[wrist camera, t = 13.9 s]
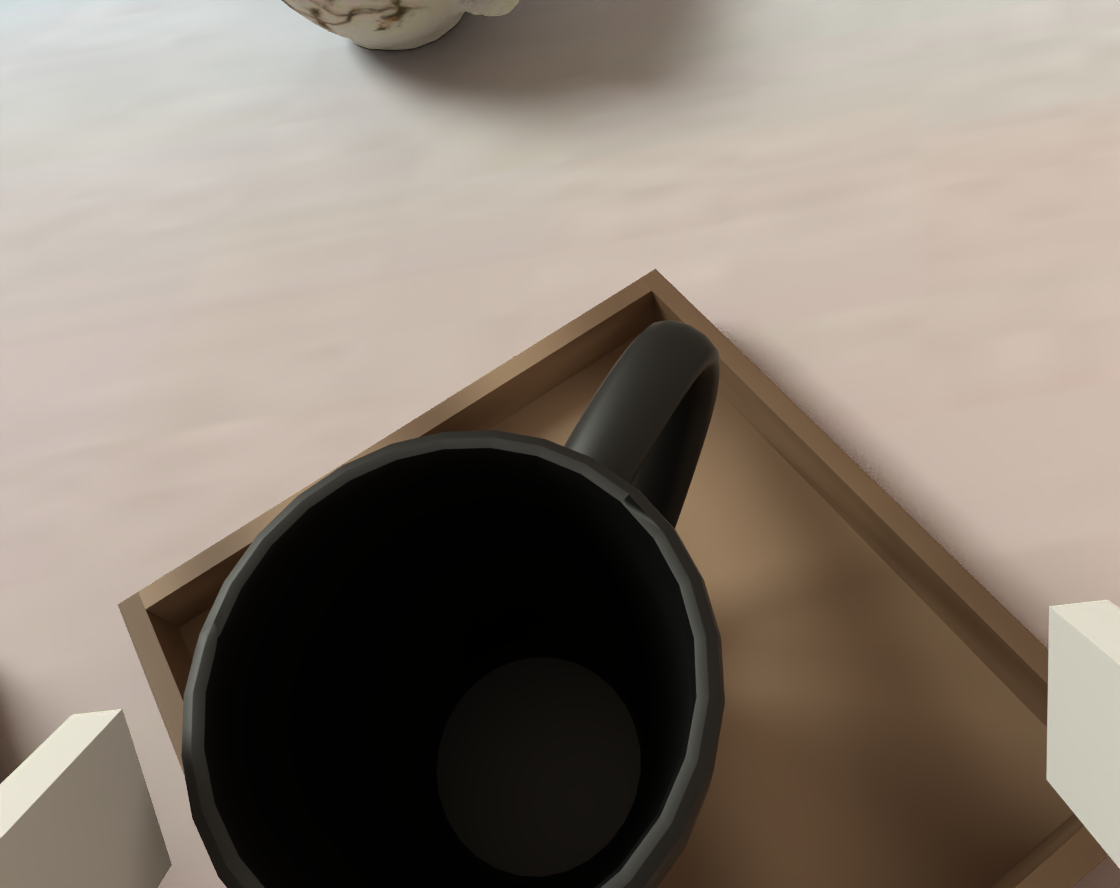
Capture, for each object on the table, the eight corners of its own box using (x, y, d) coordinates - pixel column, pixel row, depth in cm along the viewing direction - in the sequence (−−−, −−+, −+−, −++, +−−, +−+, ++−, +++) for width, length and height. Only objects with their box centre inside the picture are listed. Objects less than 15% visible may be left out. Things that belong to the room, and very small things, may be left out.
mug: (835, 585, 22) (931, 388, 13) (586, 1045, 18) (503, 1169, 9) (576, 447, 25) (525, 217, 16) (311, 812, 21) (65, 750, 12)
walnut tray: (478, 1373, 16) (447, 1446, 14) (167, 631, 24) (118, 604, 22) (1129, 797, 19) (1186, 783, 17) (657, 318, 28) (655, 268, 25)
